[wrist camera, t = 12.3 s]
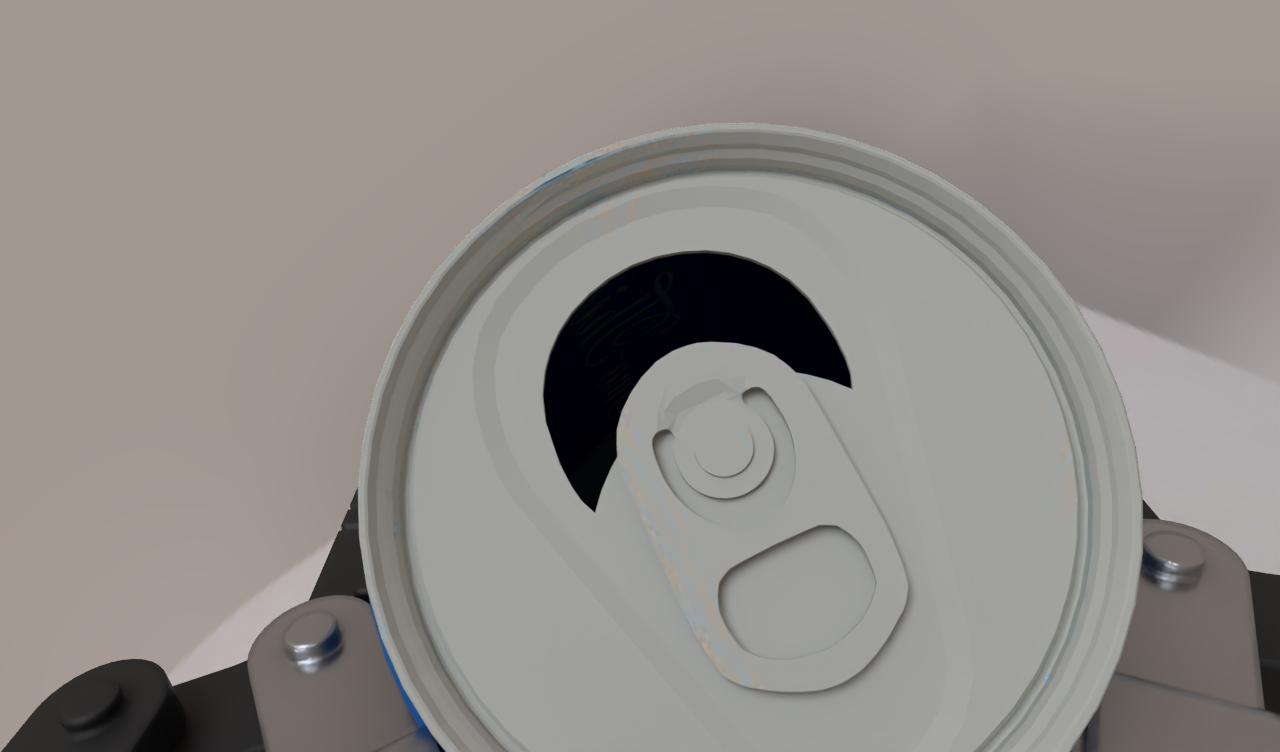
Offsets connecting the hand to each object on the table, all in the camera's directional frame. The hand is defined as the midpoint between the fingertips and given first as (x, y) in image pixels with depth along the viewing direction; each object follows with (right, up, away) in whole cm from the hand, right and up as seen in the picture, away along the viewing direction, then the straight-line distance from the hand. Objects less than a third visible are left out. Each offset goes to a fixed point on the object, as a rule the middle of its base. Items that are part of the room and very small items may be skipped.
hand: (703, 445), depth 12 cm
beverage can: (0, -3, +5) cm, 6 cm away
